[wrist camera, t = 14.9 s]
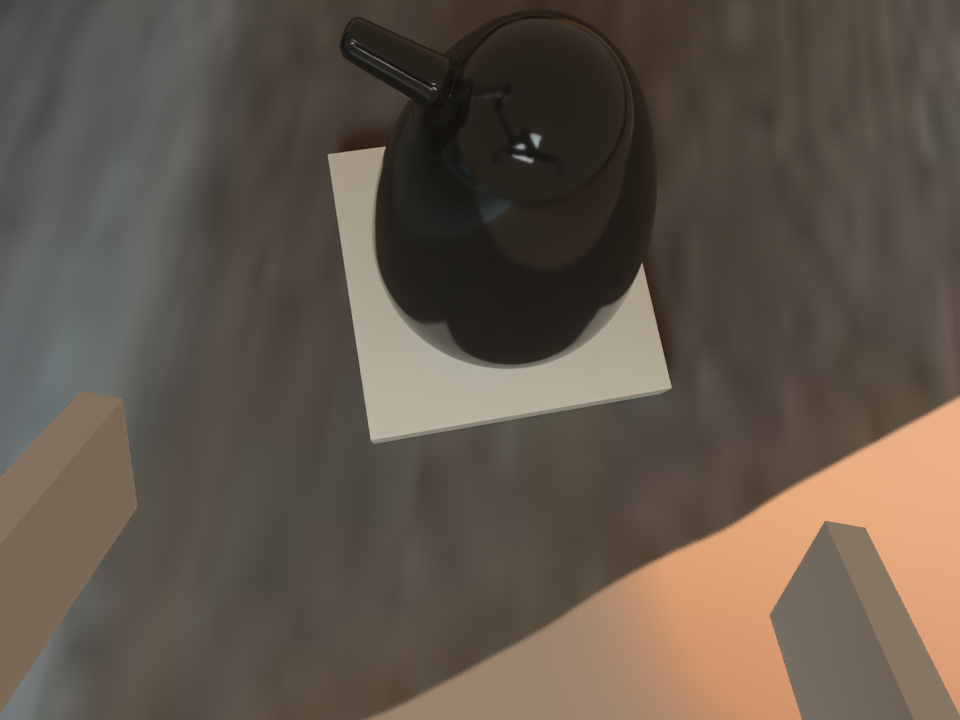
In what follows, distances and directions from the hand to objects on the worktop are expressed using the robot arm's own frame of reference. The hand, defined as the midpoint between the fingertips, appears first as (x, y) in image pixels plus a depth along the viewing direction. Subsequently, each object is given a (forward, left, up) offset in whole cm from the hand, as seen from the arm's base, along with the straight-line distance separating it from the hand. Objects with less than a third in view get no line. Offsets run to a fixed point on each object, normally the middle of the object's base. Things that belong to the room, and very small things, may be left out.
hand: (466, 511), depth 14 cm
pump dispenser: (-10, +4, -16) cm, 20 cm away
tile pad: (-10, +4, -18) cm, 21 cm away
